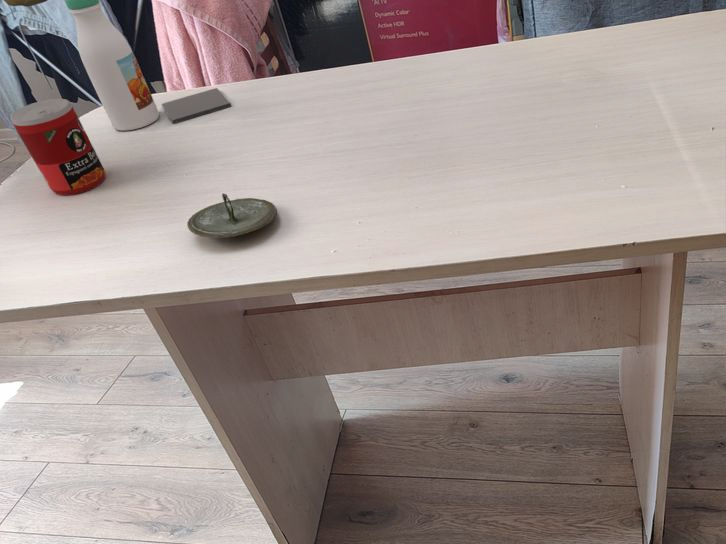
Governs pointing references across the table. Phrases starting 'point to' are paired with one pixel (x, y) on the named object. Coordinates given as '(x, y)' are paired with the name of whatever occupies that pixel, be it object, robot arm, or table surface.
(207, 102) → the coaster
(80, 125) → the canned food
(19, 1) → the fennel bulb
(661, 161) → the table surface
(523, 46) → the table surface
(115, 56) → the milk bottle
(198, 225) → the lid
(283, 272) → the table surface
